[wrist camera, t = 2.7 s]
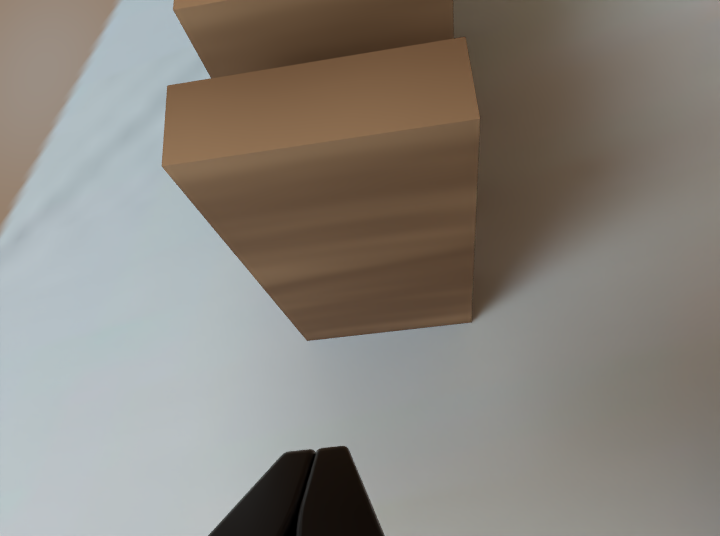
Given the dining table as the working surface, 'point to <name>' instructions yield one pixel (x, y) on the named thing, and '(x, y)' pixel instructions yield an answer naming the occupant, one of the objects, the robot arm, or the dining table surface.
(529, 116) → the dining table surface
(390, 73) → the domino
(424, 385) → the dining table surface
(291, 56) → the domino
